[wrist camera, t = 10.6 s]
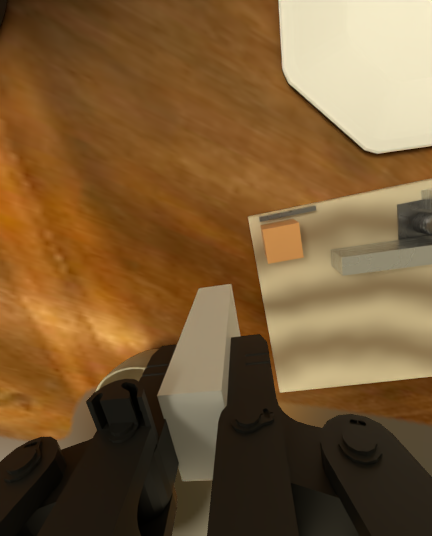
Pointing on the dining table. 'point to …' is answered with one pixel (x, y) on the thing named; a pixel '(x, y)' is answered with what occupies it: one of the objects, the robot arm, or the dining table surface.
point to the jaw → (383, 256)
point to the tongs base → (408, 216)
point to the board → (346, 298)
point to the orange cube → (282, 241)
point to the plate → (363, 67)
